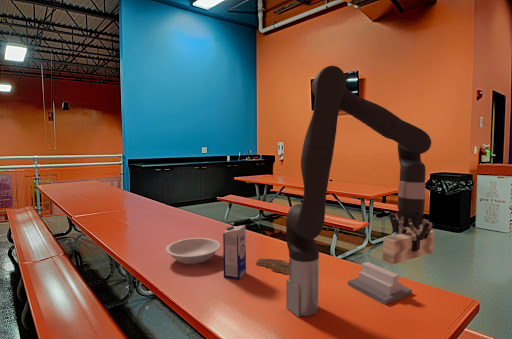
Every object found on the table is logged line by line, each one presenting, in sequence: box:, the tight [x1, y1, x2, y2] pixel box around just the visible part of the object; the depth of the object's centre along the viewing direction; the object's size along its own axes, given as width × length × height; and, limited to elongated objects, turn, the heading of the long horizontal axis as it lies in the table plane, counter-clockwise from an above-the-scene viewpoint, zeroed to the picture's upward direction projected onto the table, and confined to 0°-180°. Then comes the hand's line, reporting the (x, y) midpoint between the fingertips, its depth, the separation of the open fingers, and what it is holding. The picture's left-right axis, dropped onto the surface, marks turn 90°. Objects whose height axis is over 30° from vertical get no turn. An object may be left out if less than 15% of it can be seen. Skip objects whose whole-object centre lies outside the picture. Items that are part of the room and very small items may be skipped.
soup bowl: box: [165, 237, 222, 265], centre depth 138 cm, size 24×24×7 cm
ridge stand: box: [347, 261, 413, 306], centre depth 110 cm, size 14×16×8 cm
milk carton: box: [222, 224, 247, 281], centre depth 122 cm, size 7×7×20 cm
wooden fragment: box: [255, 257, 289, 276], centre depth 130 cm, size 26×11×1 cm, turn 46°
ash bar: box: [382, 228, 435, 265], centre depth 97 cm, size 20×4×7 cm, turn 119°
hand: (408, 249), depth 97 cm, fingers closed on ash bar, 3 cm apart
